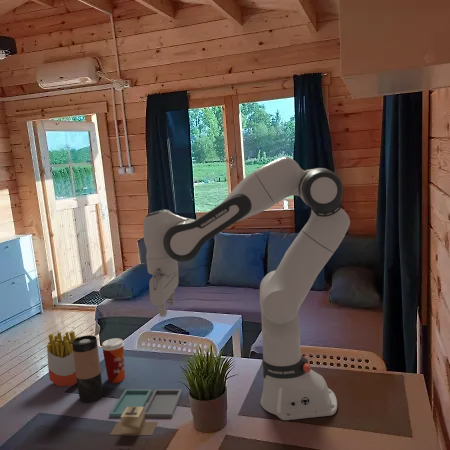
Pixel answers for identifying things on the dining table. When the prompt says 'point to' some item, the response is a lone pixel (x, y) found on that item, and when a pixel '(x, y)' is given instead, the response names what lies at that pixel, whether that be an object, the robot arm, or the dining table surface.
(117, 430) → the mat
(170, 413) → the gray bin
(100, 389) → the travel mug
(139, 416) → the letter cube
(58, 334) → the french fries container
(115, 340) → the paper cup
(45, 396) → the dining table surface
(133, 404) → the teal bin
